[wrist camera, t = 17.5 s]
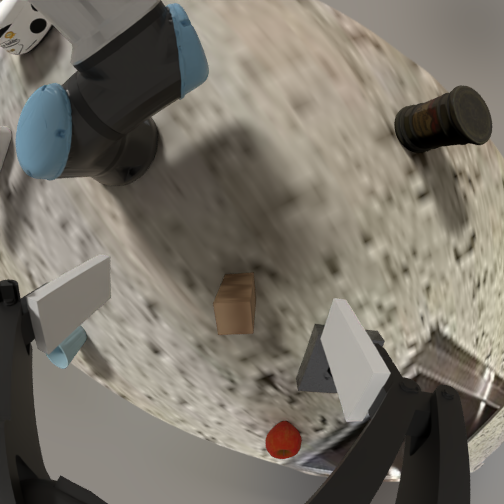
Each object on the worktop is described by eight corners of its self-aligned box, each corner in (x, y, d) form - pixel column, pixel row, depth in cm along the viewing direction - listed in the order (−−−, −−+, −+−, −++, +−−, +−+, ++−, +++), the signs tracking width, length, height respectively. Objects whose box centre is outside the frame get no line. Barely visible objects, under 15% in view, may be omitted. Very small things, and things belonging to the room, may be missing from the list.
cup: (95, 346, 54) (73, 370, 44) (74, 345, 55) (52, 367, 45) (83, 318, 52) (58, 340, 42) (62, 319, 53) (38, 338, 43)
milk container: (16, 69, 36) (-27, 57, 19) (22, 29, 32) (-14, 15, 15) (59, 33, 35) (16, 11, 17) (64, -4, 30) (29, -27, 13)
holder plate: (296, 378, 53) (297, 390, 49) (314, 323, 49) (318, 334, 46) (354, 382, 53) (359, 393, 49) (377, 330, 49) (384, 341, 46)
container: (423, 105, 38) (481, 83, 20) (436, 149, 40) (500, 143, 22) (386, 109, 39) (442, 81, 21) (401, 156, 41) (464, 149, 23)
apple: (274, 409, 56) (275, 443, 45) (306, 416, 56) (310, 449, 46) (260, 428, 58) (259, 460, 47) (290, 434, 58) (292, 466, 48)
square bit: (228, 300, 49) (218, 334, 37) (225, 274, 48) (213, 303, 36) (255, 298, 49) (253, 333, 37) (253, 272, 47) (250, 301, 36)
